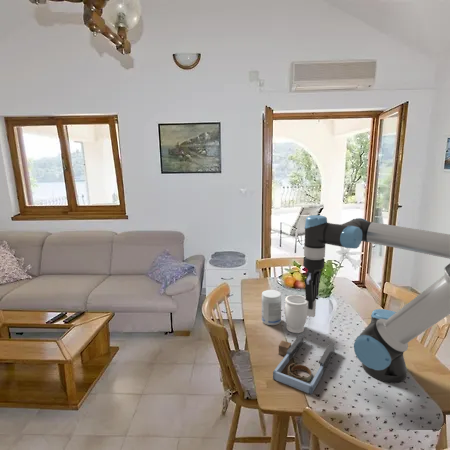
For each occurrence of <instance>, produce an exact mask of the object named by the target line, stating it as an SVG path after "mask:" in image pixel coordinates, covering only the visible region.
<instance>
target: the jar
mask: <svg viewBox="0 0 450 450" xmlns="http://www.w3.org/2000/svg"><path fill="white" fill-rule="evenodd" d="M305 299H306V296H303V295H299V294H290V295H287V296H286V297H285V298H284V302H285V306H284V316H285V322H286V323H285V324H286V326H285V327H286V330H287V331H288V332H290V333H293V334H301V333H303V332H304V331H305V325H306V322H307V319H308V318H307V317H308V316H307V305H308V301H306V300H305Z"/></svg>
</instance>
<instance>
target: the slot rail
mask: <svg viewBox="0 0 450 450" xmlns="http://www.w3.org/2000/svg"><path fill="white" fill-rule="evenodd" d="M305 336H306V333H303V332H301V333H299V335H298V336H297V338H296V339H295V340H294V341H293V343H291V347H290V348H289V349H288V350H287V354H289V362H290V361H291V360H292V359H293V357H294V356H295V354H297V352H298V350H299V349H300V347H301V346H302V345H303V344H304V338H305ZM335 344H336V343H335V342H333V341H330V342H329V344H328V345H327V347H326V349H325V350H324V352H323V354H322V356H321V357H320V359H319V360H318V365H319V367H320V366H323V373H324V371H325V370H326V368H327V367H328V365H329V362H331V359H332V357H333V355H334V353H335V349H336V347H335V346H336V345H335Z"/></svg>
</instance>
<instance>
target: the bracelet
mask: <svg viewBox="0 0 450 450" xmlns="http://www.w3.org/2000/svg"><path fill="white" fill-rule="evenodd" d="M297 370H298V371H299V370H302V371H305V372H306V371H307V372H306V373H308V374H309V376H308V377H307V376H306V377H305V376H301V375H300V374H297V373H294V371H297ZM286 373H287V374H286V375H288V376H290V377H293V378H296V379H298V380H301V381H303V382H306V383H309V382H310V381H312V380H311V379H313V378H312V376H313V373H312V370H311V369H310V368H309V367H308V366H306V365H303V364H296V363H295V362H293V363H290V364H289V365H288V366H287V372H286Z"/></svg>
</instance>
